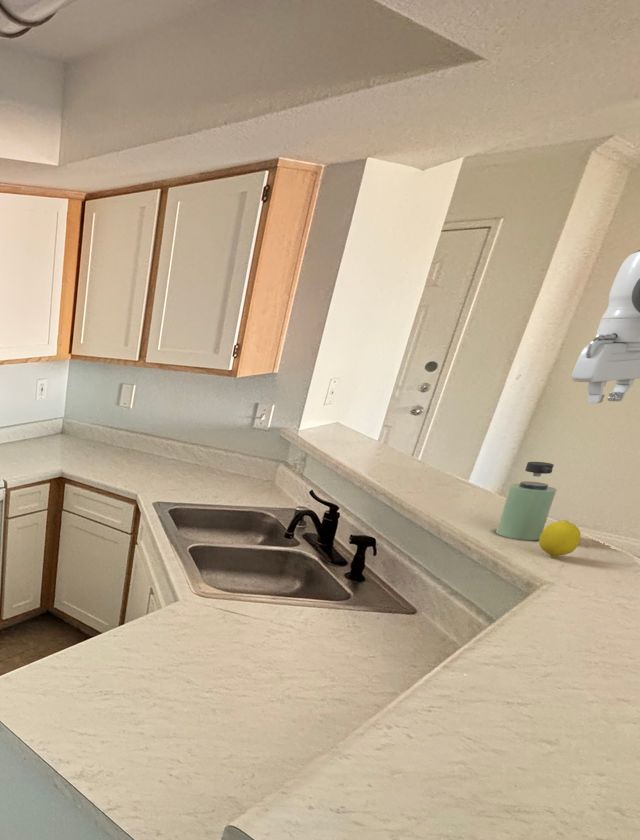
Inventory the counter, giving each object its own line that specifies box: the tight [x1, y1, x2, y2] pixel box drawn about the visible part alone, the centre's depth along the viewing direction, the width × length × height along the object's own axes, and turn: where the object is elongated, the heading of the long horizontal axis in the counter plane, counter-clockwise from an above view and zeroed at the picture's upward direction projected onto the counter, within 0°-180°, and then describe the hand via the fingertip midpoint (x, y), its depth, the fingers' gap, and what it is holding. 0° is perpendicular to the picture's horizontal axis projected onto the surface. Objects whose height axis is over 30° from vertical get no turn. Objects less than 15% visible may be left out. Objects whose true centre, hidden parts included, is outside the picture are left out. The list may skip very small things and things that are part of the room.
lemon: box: [538, 519, 581, 559], centre depth 118 cm, size 6×6×8 cm
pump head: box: [524, 461, 554, 478], centre depth 126 cm, size 4×7×3 cm, turn 153°
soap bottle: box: [495, 480, 557, 541], centre depth 130 cm, size 7×7×12 cm
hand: (604, 402), depth 124 cm, fingers open, 5 cm apart
